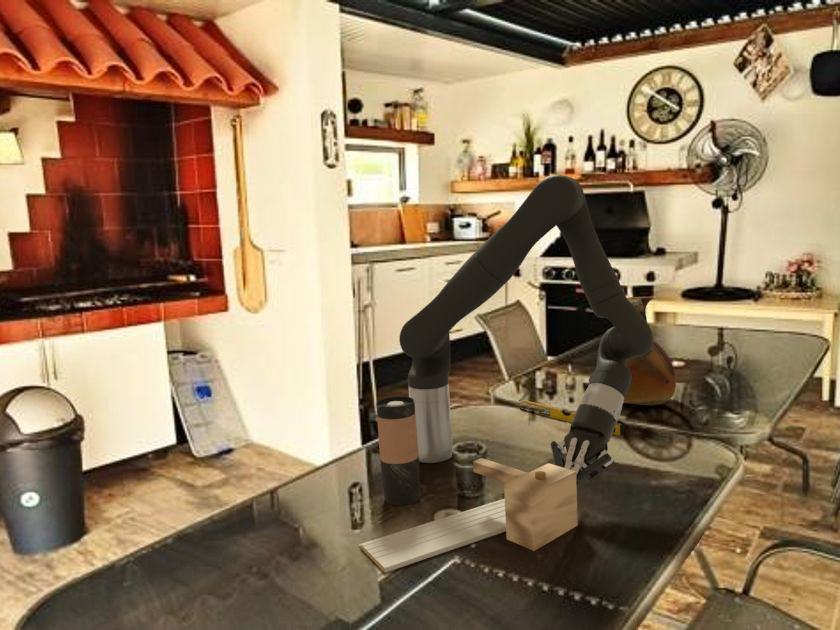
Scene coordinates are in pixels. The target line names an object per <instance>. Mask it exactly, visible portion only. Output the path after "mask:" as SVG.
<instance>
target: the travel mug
mask: <svg viewBox="0 0 840 630" xmlns="http://www.w3.org/2000/svg"><path fill="white" fill-rule="evenodd" d="M375 405H376V418H377V431H378V432H377V433H378V435H377V436H378V446H379V458H380V460H379V461H380V469H381V470H380V471H381V479H382V488H383V497H384V501H385V502H386V503H387V504H389V505H392V506H399V507H401V506H409V505H412V504H414V503H416V502H418V501H419V500H420V498H421V487H420V486H421V483H420V462H419V454H418V441H417V428H416V415H415V403H414V399H413V398H410V397H409V396H403V395H399V396H398V395H397V396H396V395H395V396H389V397H385V398H381V399H379V400H378V401H376V403H375Z"/></svg>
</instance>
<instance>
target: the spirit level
mask: <svg viewBox="0 0 840 630" xmlns="http://www.w3.org/2000/svg"><path fill="white" fill-rule="evenodd" d="M519 401H522V402H524V403H527V404H530V405H534V406H537V407H539V408H542V409H544V410H545V411H544V412H541V413H540V412H539V413H536V415H537V414H538V415H542V416H544V417H545V416H546V417H548V418H553V419H556V420H560V421H564V422H567V423H572V421H573V418H574V416H575V414H576V411H575V412H574V411H572V412H568V411H566V409H562V408H558V407H554V406H550V405H547V404H542V403H538V402H533V401H530V400H525V399H523V398H520V399H519V400H518V402H519ZM612 435H616V436H620V437H622V436H624V435H625V423H619V422H617V423H616V426H615V428H614V431H613V433H612Z"/></svg>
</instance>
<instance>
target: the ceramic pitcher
mask: <svg viewBox="0 0 840 630" xmlns="http://www.w3.org/2000/svg"><path fill="white" fill-rule="evenodd" d="M626 298H627V299H628V300H629V301H630V302H631V303H632V304H633V306H634V307H635V308H636V309H637V311H638V312H639V313H640V314H641V315H642V317H643V318H644V319H645V320H646V322H647V323H648V320H647V315H646V308H647V306H648V304H649V303H650V302H651V301H652V300H653V296H636V297H635V296H630V297H628V296H627V297H626ZM625 366H626V367H628V368H629V370H630V371H631V374H632V379H633V382H632V383H631V384H630V386H629V388H628V391H627V393H626V396H625V398H624V402H623V404H629V405H638V406H640V405H641V406H657V405H659V406H660V405H663V404H664V403H666V402H668V401H669V400H670V399H672V398H673V396H674V394H675V393H676V385H677V379H676V373H675V370H674V369H675V368H674V367H673V363H672V361H671V359H670V357H669V356H668V354H667V352H666V350H664V348H663V347H662V346H661V345H660V344H659V343H658V342H657V341H656V340H654V339H653V346H652V349H651V350H650V351H649V352H648V353H647V354H645V355H643V356H639V357H635V358H631V359H628V361H627V362H626V364H625ZM662 403H663V404H662Z"/></svg>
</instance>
